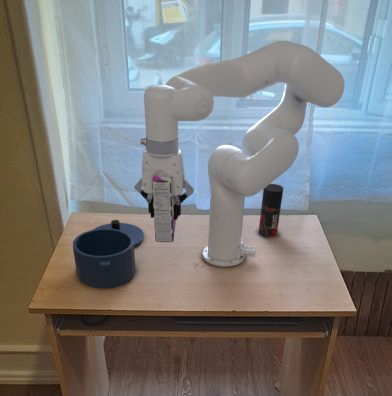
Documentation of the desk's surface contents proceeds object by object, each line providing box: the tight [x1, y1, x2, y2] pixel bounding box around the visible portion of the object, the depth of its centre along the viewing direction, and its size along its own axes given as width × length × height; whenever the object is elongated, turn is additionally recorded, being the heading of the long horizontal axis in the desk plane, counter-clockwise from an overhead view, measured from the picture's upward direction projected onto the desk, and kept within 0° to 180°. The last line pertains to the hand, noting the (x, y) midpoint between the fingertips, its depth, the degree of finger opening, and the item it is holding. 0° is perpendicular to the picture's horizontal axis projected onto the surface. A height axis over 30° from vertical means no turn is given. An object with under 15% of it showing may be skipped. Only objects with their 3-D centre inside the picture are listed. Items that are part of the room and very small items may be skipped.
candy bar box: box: [152, 176, 177, 243], centre depth 127 cm, size 11×5×16 cm, turn 179°
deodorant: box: [258, 183, 284, 238], centre depth 155 cm, size 6×6×15 cm
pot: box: [72, 226, 136, 289], centre depth 136 cm, size 16×21×10 cm
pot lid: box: [92, 219, 145, 247], centre depth 153 cm, size 17×17×6 cm
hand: (164, 216), depth 129 cm, fingers closed on candy bar box, 5 cm apart
